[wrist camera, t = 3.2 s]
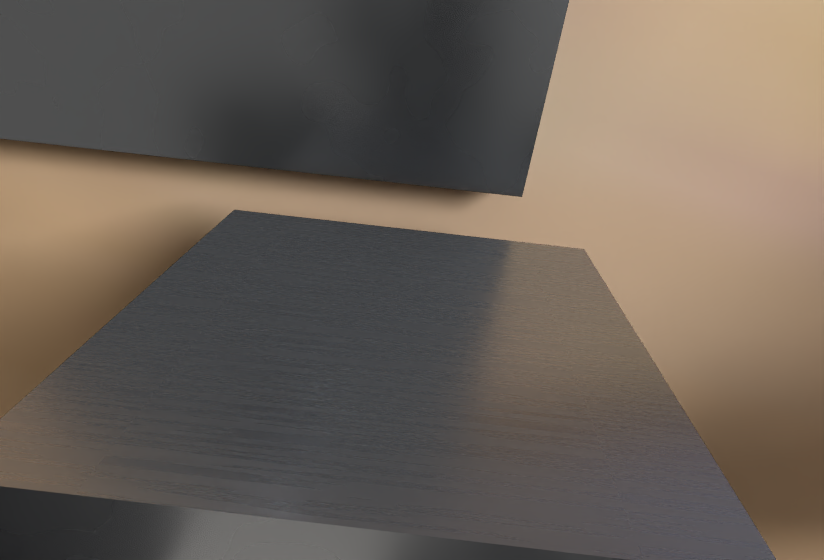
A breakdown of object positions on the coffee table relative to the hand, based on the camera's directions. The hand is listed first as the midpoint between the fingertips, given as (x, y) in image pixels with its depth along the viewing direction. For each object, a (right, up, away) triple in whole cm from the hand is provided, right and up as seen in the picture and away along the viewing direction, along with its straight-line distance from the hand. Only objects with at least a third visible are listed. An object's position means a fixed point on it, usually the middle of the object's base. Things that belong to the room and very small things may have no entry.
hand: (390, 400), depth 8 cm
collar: (0, +1, +1) cm, 1 cm away
